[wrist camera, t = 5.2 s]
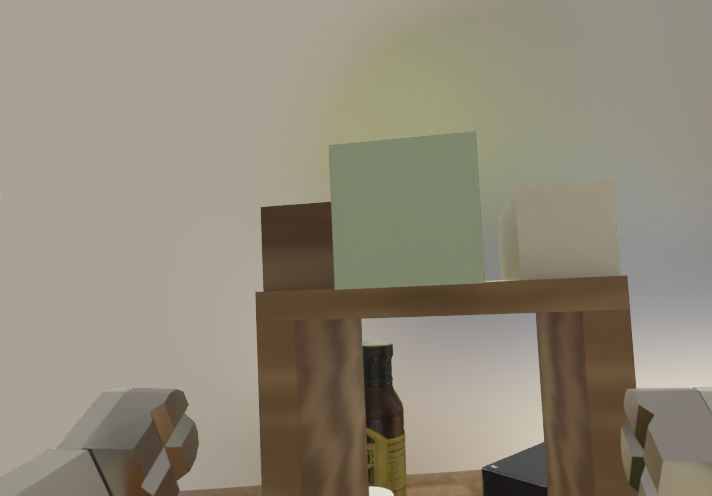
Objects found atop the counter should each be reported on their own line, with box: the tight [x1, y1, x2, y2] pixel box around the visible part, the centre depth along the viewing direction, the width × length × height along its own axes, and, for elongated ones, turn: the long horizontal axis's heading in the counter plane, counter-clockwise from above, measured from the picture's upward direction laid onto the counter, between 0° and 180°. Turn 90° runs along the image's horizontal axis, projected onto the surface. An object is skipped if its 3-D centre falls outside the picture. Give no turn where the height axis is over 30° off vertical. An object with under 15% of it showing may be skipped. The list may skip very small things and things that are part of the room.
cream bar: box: [498, 181, 621, 280], centre depth 27 cm, size 12×4×4 cm, turn 169°
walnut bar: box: [261, 202, 335, 292], centre depth 29 cm, size 12×4×4 cm, turn 169°
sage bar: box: [329, 131, 485, 290], centre depth 24 cm, size 22×4×4 cm, turn 169°
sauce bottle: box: [362, 341, 407, 496], centre depth 60 cm, size 7×6×20 cm
